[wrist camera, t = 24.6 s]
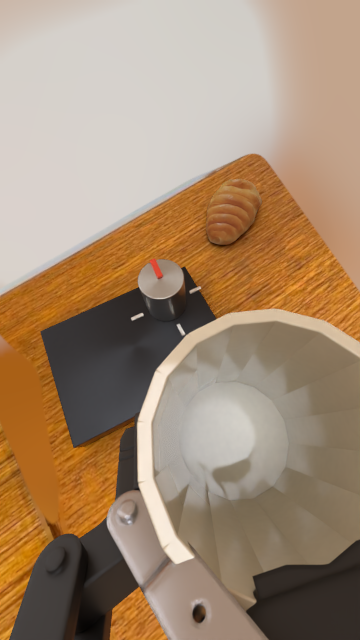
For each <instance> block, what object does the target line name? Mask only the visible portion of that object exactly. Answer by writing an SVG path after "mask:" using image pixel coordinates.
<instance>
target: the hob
mask: <svg viewBox="0 0 360 640" xmlns="http://www.w3.org/2000/svg"><path fill="white" fill-rule="evenodd" d="M181 269H182V271H183V274H184V282H185V293H186V308H185V310H184V312H183V313H182V314H181V315H180V316H179V317H178V318H176V319H174V320H170V321H161V320H158V319H156V318H154V317H153V316H152V315H151V314H150V312H149V310H148V308H147V306H146V303H145V301H144V298H143V296H142V293H141V291H140V288H139V287H138V288H136V289H134V290H132V291H129V292H127V293H125V294H123V295H120V296H118V297H116V298H114V299H112V300H109V301H107V302H105V303H103V304H101V305H98V306H96V307H94V308H92V309H89V310H87V311H85V312H83V313H81V314H78V315H76V316H74V317H72V318H69V319H67V320H65V321H63V322H61V323H58V324H56V325H54V326H52V327H49V328H47V329H45V330H43V331H41V335H42V339H43V342H44V346H45V349H46V353H47V356H48V360H49V363H50V367H51V370H52V374H53V377H54V381H55V384H56V388H57V391H58V395H59V398H60V402H61V405H62V409H63V412H64V416H65V419H66V423H67V426H68V430H69V433H70V437H71V440H72V444H73V447H74V448H77V447H85V446H87V445H89V444H90V443H92V442H94V441H96V440H98V439H100V438H102V437H104V436H106V435H108V434H110V433H112V432H114V431H116V430H118V429H120V428H121V427H123V426H125V425H127V424H129V423H131V422H133V421H135V413H138V412H140V411H141V409H142V406H143V403H144V400H145V398H146V395H147V392H148V389H149V386H150V384H151V381H152V378H153V375H154V373H155V371H156V369H157V368H158V367H159V366H160V364H161V363H162V362H163V361H164V360H165V359H166V358H167V357H168V355H169V354H170V353H171V352H172V351H173V350H174V349H175V347H176V346H177V345H178V344H179V343H180V342H181V341H182V340H183V338H184V337H185V336H186V335H188V334H189V333H190V332H192V331H194V330H196V329H198V328H200V327H202V326H204V325H206V324H208V323H210V322H212V321H214V320H216V317H215V316H214V314H213V312H212V311H211V309H210V307H209V306H208V304H207V303H206V301H205V299H204V298H203V296H202V294H201V293H200V291H199V290H200V289H201V287H200V286H199V287H197V286H196V284H195V283H194V281H193V279H192V278H191V276H190V274H189V273H188V271H187V269H186V268H185V267H183V268H181Z"/></svg>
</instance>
